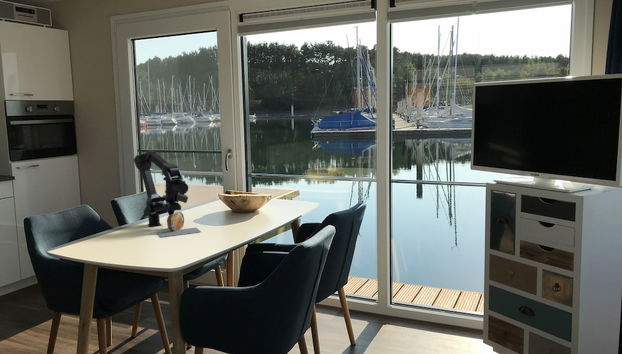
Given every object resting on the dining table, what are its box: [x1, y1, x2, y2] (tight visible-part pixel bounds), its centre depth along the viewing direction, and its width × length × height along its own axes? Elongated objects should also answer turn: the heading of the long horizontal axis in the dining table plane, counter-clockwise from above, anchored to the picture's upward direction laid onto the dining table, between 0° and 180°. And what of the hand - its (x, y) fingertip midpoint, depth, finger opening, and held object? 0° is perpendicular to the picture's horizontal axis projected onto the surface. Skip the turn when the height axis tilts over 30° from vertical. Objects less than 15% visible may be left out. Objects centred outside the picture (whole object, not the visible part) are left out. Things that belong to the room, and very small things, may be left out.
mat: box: [156, 227, 202, 238], centre depth 271 cm, size 11×20×1 cm, turn 116°
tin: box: [166, 211, 185, 231], centre depth 277 cm, size 15×3×8 cm, turn 168°
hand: (171, 218), depth 282 cm, fingers closed
